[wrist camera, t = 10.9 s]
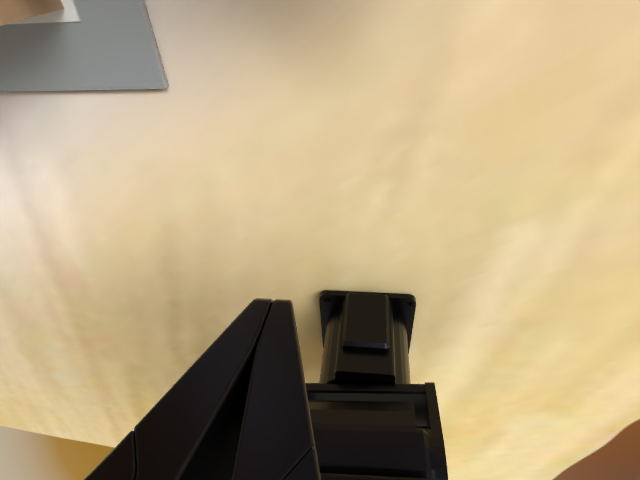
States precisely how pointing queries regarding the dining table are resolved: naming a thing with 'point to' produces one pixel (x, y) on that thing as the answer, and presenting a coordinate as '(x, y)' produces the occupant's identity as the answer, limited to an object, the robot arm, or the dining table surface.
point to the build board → (82, 49)
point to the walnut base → (26, 9)
